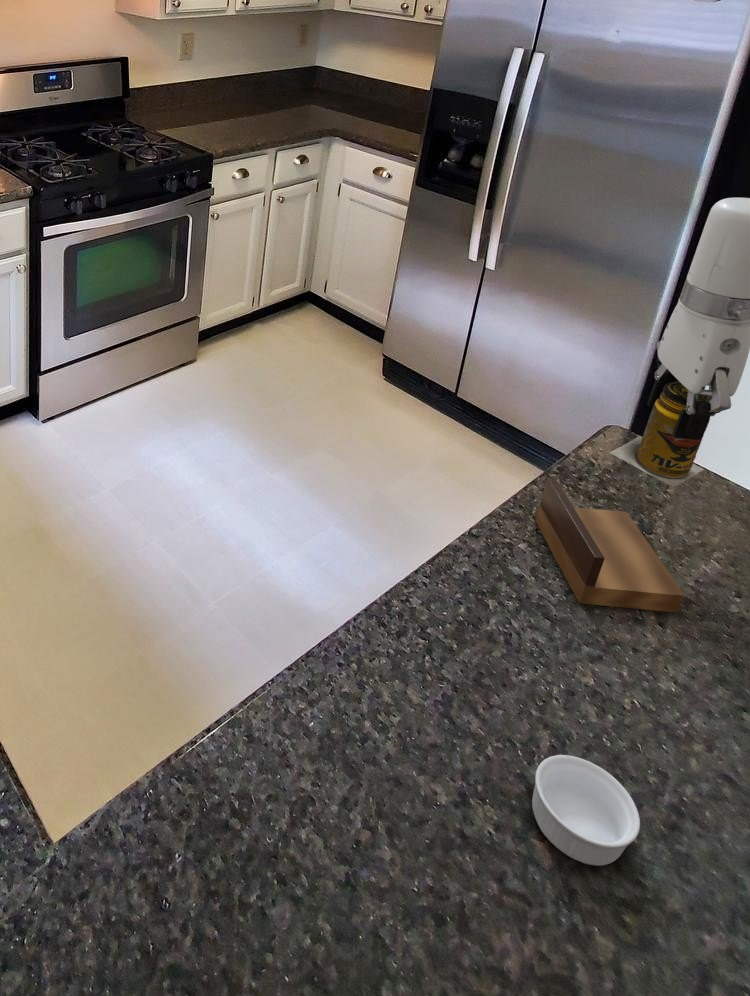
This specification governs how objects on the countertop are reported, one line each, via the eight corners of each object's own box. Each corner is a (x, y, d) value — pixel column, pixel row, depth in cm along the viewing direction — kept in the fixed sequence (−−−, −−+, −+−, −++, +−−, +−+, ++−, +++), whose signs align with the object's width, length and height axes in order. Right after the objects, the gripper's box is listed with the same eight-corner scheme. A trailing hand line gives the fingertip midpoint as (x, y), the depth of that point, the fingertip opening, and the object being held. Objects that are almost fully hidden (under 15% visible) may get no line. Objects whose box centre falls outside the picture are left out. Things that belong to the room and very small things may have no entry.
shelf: (620, 527, 117) (636, 484, 114) (678, 612, 103) (697, 566, 100) (534, 520, 119) (547, 477, 115) (579, 603, 105) (595, 557, 101)
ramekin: (616, 797, 82) (628, 770, 80) (638, 888, 74) (651, 860, 72) (520, 769, 84) (530, 742, 83) (532, 853, 77) (542, 826, 75)
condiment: (674, 488, 103) (703, 410, 98) (608, 453, 110) (632, 379, 105) (703, 470, 106) (733, 394, 101) (638, 438, 113) (663, 365, 108)
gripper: (798, 335, 88) (742, 466, 96) (713, 272, 104) (670, 389, 112) (724, 330, 90) (675, 460, 97) (651, 269, 105) (613, 385, 113)
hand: (673, 421), depth 104 cm, fingers closed on condiment, 6 cm apart
